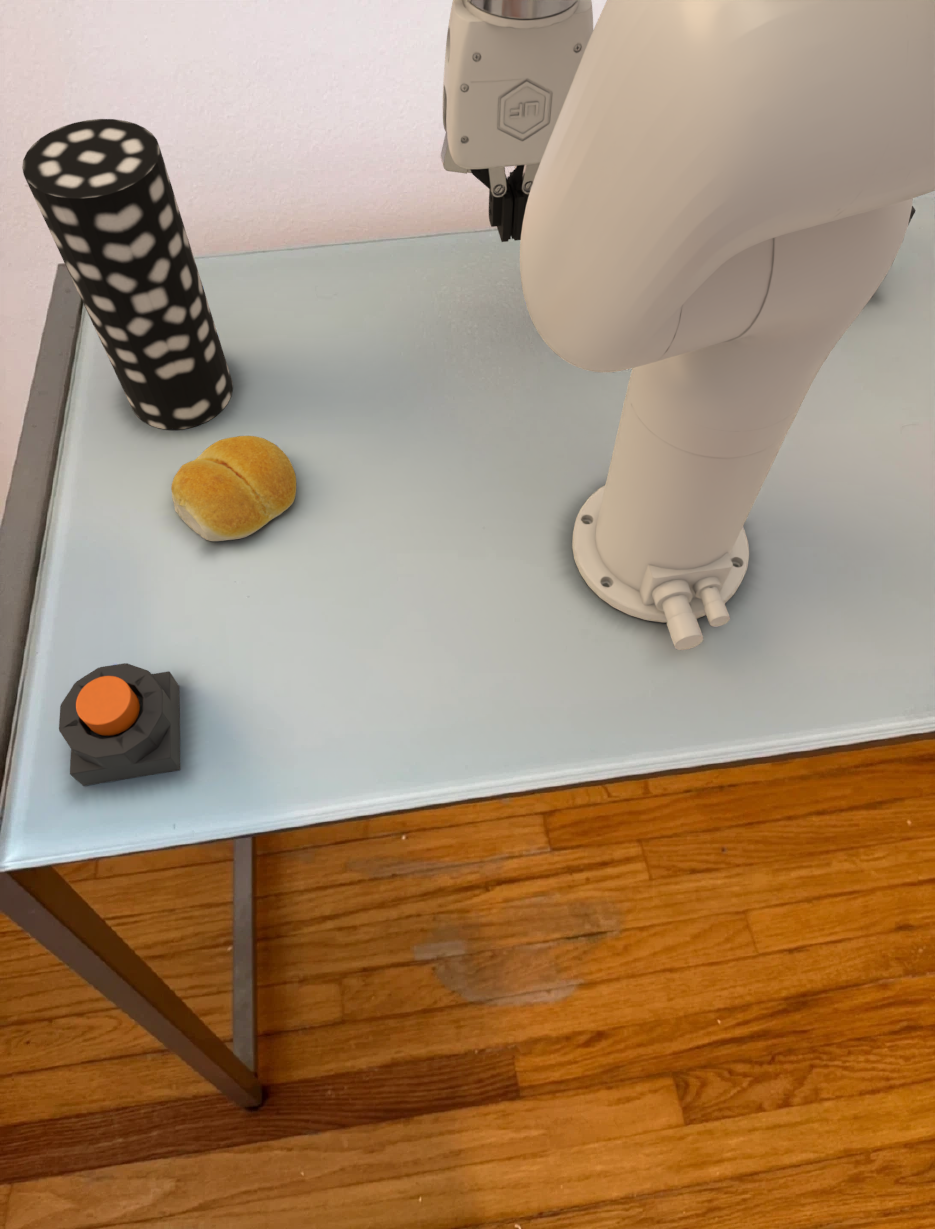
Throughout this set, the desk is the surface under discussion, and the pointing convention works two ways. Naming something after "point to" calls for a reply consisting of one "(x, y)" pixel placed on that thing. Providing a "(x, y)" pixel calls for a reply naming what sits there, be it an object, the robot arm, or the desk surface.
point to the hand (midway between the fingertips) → (507, 230)
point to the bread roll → (234, 488)
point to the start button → (107, 705)
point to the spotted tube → (132, 266)
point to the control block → (135, 749)
